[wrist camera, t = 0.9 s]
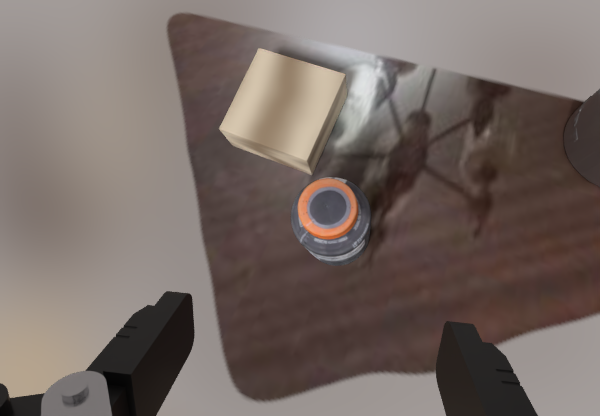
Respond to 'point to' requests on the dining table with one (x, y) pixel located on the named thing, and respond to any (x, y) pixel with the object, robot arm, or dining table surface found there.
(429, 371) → the dining table surface
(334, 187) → the pill bottle
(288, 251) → the dining table surface
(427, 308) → the dining table surface
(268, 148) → the maple block
